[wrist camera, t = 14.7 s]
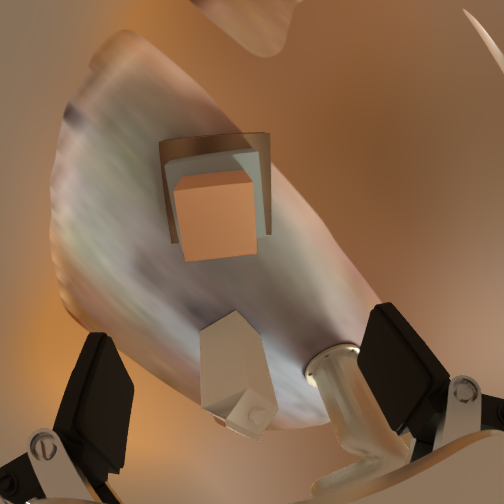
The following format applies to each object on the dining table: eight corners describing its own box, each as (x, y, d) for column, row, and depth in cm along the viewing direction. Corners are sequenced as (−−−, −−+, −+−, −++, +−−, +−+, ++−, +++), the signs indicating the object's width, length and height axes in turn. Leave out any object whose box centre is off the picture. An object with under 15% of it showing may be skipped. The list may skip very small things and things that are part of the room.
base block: (263, 132, 32) (269, 133, 28) (265, 222, 37) (271, 234, 34) (164, 140, 31) (158, 142, 27) (175, 231, 36) (171, 243, 32)
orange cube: (244, 169, 26) (253, 182, 21) (248, 227, 29) (257, 253, 23) (181, 176, 25) (173, 191, 20) (189, 234, 28) (185, 261, 23)
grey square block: (252, 148, 29) (258, 151, 25) (259, 224, 33) (266, 237, 29) (170, 160, 28) (164, 165, 25) (184, 235, 32) (181, 250, 29)
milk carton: (226, 353, 46) (238, 451, 29) (199, 330, 43) (201, 435, 26) (260, 334, 45) (285, 433, 28) (235, 308, 42) (254, 415, 25)
